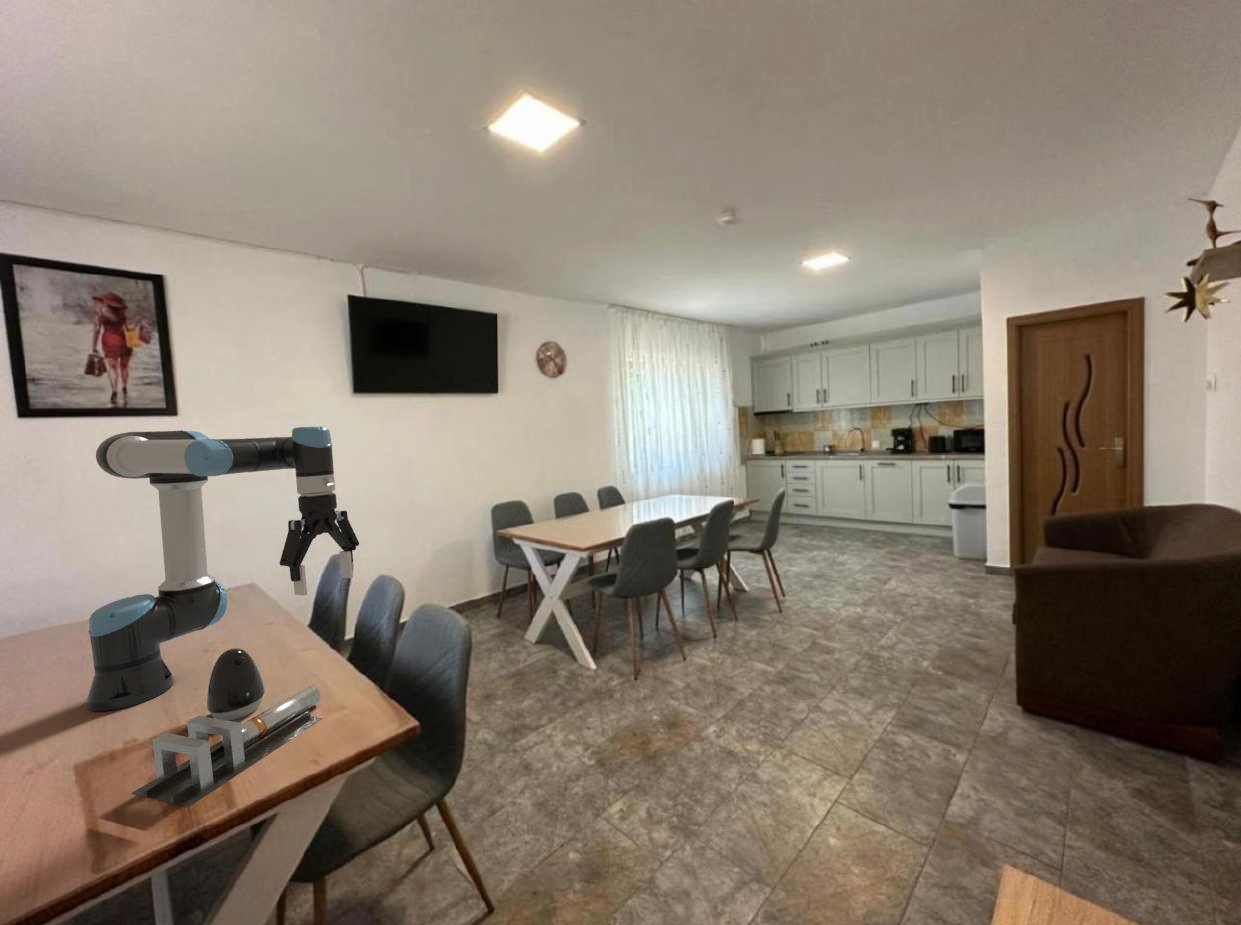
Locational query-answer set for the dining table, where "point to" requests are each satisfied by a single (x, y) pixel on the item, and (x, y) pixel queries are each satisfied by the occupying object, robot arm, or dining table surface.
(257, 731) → the tube
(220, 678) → the black tall rounded dome
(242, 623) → the dining table surface
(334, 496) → the robot arm
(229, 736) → the twin arch cradle
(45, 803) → the dining table surface
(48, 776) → the dining table surface
